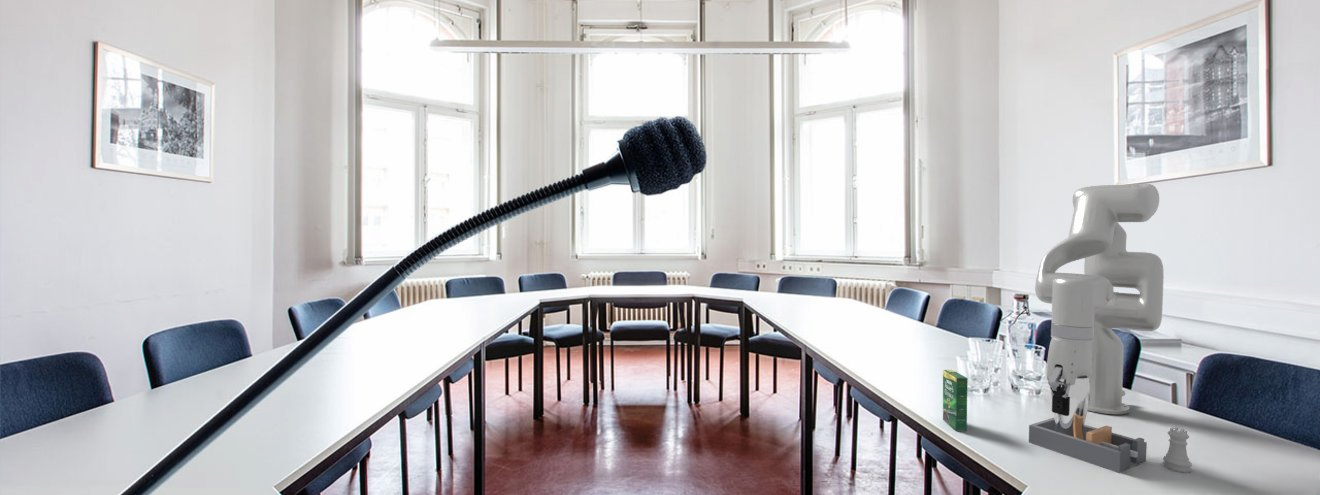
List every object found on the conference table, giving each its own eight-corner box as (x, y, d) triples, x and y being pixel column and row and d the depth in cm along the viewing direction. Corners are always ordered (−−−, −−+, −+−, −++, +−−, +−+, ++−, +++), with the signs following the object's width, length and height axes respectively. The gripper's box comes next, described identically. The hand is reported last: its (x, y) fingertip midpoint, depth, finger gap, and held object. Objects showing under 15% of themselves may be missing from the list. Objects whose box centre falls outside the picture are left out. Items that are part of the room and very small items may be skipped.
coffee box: (941, 419, 137) (942, 368, 137) (953, 419, 137) (954, 369, 136) (954, 431, 129) (956, 377, 129) (967, 431, 129) (968, 378, 128)
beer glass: (1095, 447, 116) (1097, 379, 116) (1059, 445, 118) (1061, 378, 117) (1077, 435, 123) (1079, 370, 123) (1043, 433, 125) (1045, 369, 124)
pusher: (1105, 447, 118) (1106, 425, 118) (1145, 460, 112) (1146, 436, 111) (1085, 455, 114) (1086, 432, 114) (1126, 468, 108) (1127, 444, 107)
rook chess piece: (1155, 464, 111) (1157, 426, 111) (1175, 463, 112) (1177, 425, 111) (1178, 474, 107) (1180, 434, 107) (1198, 473, 107) (1200, 433, 107)
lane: (1055, 433, 128) (1056, 412, 128) (1146, 461, 113) (1146, 437, 113) (1028, 442, 123) (1029, 420, 122) (1119, 472, 108) (1120, 448, 107)
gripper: (1073, 326, 127) (1071, 400, 128) (1031, 333, 119) (1029, 412, 120) (1111, 331, 120) (1109, 410, 121) (1070, 339, 112) (1067, 423, 113)
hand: (1069, 410), depth 120 cm, fingers closed on beer glass, 6 cm apart
